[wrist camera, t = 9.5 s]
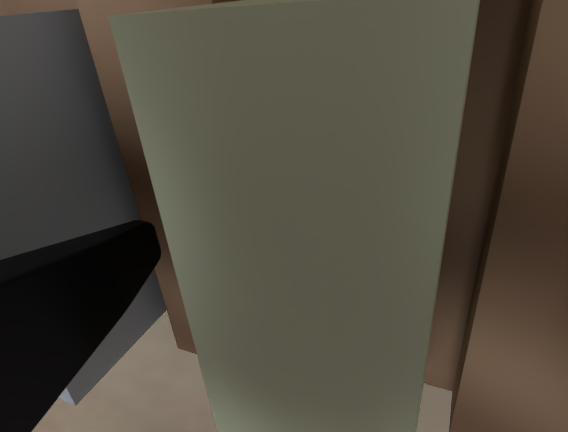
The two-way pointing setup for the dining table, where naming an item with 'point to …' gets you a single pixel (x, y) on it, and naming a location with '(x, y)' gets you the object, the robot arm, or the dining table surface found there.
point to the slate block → (63, 163)
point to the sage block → (304, 195)
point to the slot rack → (462, 213)
